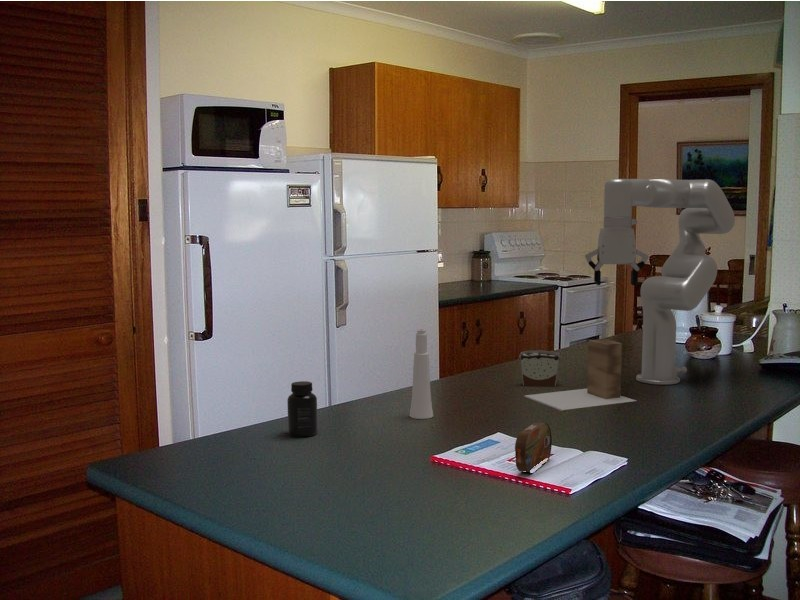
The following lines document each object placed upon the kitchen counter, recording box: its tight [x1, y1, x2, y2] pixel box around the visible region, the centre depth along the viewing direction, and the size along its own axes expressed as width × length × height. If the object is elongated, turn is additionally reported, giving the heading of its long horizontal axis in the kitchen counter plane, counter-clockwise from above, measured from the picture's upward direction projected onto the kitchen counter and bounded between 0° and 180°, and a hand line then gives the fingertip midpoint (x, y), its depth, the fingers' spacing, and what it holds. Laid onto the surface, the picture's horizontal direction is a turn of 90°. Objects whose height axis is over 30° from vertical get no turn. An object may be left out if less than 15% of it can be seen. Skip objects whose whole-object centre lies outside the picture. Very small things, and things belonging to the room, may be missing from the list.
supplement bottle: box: [286, 380, 319, 438], centre depth 189 cm, size 7×7×12 cm
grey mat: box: [524, 388, 637, 412], centre depth 223 cm, size 24×18×1 cm
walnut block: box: [586, 338, 623, 399], centre depth 225 cm, size 5×8×15 cm, turn 24°
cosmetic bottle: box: [408, 328, 434, 420], centre depth 204 cm, size 6×6×22 cm
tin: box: [514, 422, 553, 472], centre depth 164 cm, size 15×3×8 cm, turn 150°
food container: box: [518, 350, 562, 387], centre depth 240 cm, size 12×6×10 cm, turn 84°
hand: (615, 284), depth 229 cm, fingers open, 9 cm apart
